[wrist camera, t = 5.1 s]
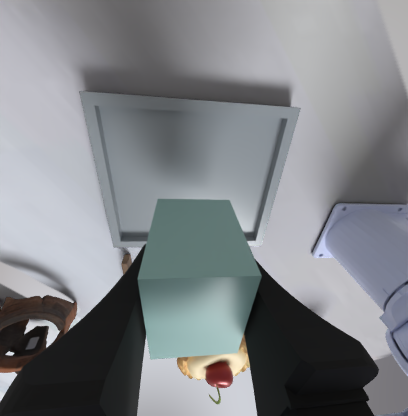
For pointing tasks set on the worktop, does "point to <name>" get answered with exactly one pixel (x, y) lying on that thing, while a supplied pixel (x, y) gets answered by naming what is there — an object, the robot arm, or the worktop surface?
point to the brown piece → (36, 338)
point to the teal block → (196, 279)
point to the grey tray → (185, 157)
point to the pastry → (216, 367)
